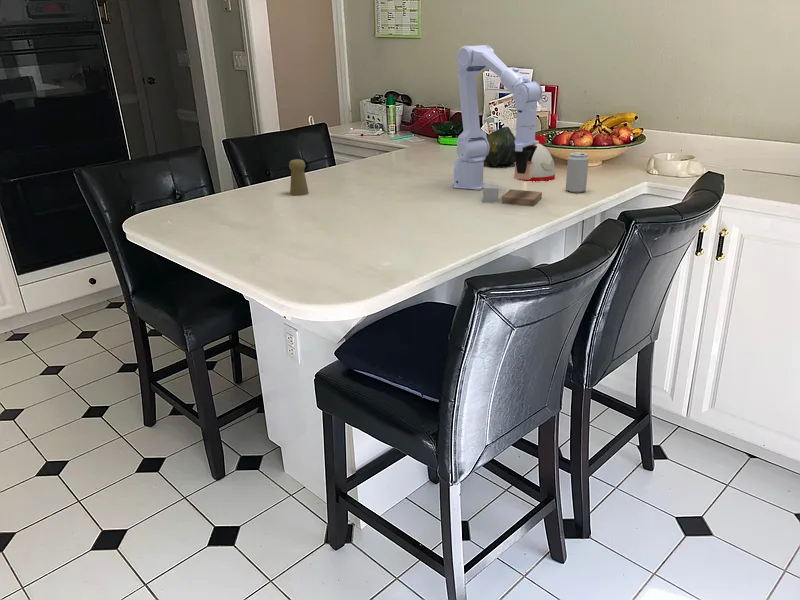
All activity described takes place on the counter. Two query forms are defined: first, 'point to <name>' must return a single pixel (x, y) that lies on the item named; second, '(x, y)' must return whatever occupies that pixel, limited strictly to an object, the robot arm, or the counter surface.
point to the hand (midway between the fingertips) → (523, 171)
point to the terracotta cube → (527, 174)
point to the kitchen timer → (542, 162)
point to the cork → (298, 178)
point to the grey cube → (490, 193)
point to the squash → (500, 147)
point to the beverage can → (577, 172)
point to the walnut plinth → (521, 197)
